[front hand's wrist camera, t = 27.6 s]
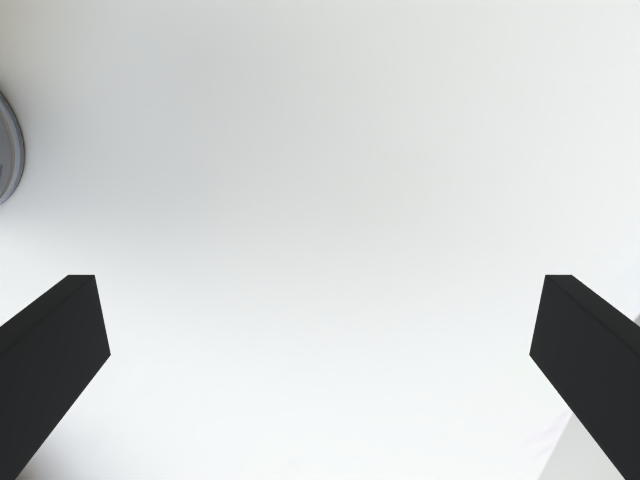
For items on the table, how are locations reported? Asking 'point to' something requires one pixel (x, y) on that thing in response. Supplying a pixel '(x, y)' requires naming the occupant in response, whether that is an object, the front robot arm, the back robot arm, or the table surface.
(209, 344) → the table surface
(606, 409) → the front robot arm
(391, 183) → the table surface
